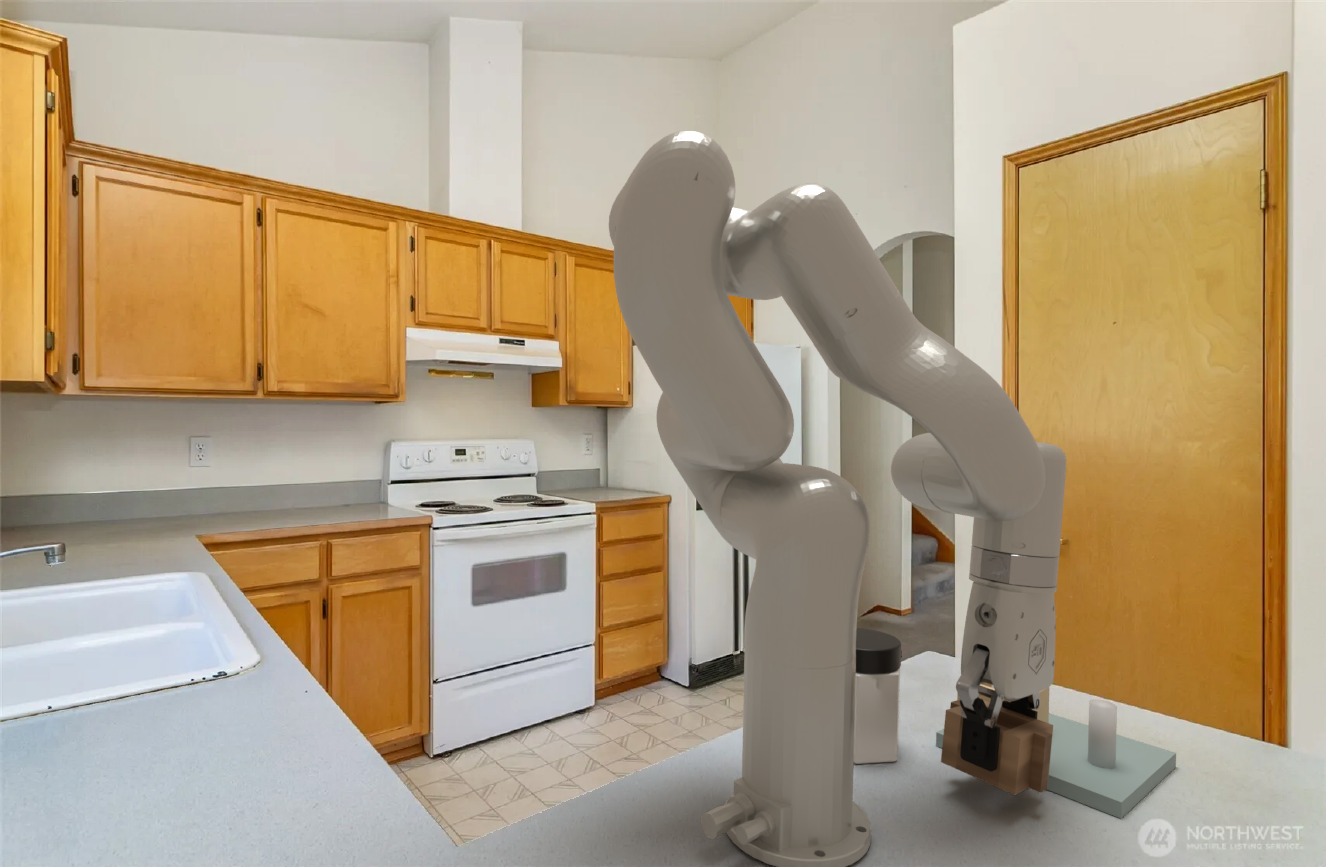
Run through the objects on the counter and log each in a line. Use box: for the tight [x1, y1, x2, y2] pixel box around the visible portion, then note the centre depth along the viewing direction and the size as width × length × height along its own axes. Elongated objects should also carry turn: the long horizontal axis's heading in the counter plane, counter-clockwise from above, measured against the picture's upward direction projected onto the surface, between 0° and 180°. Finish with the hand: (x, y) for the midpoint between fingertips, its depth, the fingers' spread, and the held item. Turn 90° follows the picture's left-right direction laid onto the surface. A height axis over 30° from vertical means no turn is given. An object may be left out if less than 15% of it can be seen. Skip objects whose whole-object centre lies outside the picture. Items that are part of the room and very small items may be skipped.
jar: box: [854, 627, 903, 765], centre depth 77 cm, size 9×8×12 cm
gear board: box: [935, 683, 1177, 820], centre depth 75 cm, size 16×18×8 cm
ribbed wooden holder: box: [940, 699, 1053, 796], centre depth 67 cm, size 7×9×5 cm
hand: (998, 753), depth 66 cm, fingers closed on ribbed wooden holder, 7 cm apart
